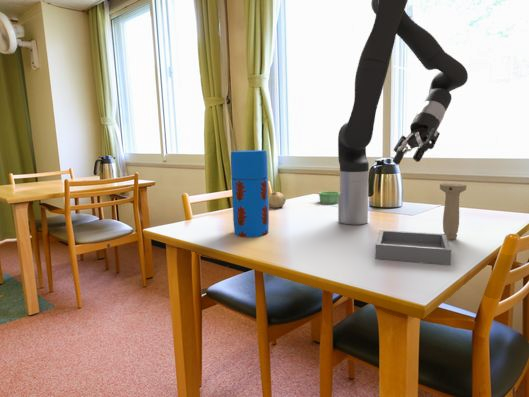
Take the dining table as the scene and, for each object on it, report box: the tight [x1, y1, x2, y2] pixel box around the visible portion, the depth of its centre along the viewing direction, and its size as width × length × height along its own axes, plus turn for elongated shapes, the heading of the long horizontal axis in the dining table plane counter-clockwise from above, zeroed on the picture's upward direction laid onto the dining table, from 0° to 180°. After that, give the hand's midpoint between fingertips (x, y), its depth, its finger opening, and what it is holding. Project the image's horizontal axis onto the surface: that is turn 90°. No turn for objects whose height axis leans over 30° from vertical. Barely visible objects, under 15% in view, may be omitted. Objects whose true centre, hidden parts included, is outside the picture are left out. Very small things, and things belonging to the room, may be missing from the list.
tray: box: [375, 229, 452, 266], centre depth 93 cm, size 16×14×4 cm
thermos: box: [230, 149, 270, 238], centre depth 114 cm, size 11×11×25 cm
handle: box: [439, 183, 467, 241], centre depth 103 cm, size 5×6×15 cm
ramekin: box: [318, 190, 340, 205], centre depth 164 cm, size 9×9×4 cm
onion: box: [268, 191, 286, 209], centre depth 156 cm, size 8×8×7 cm
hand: (405, 161), depth 113 cm, fingers open, 8 cm apart
